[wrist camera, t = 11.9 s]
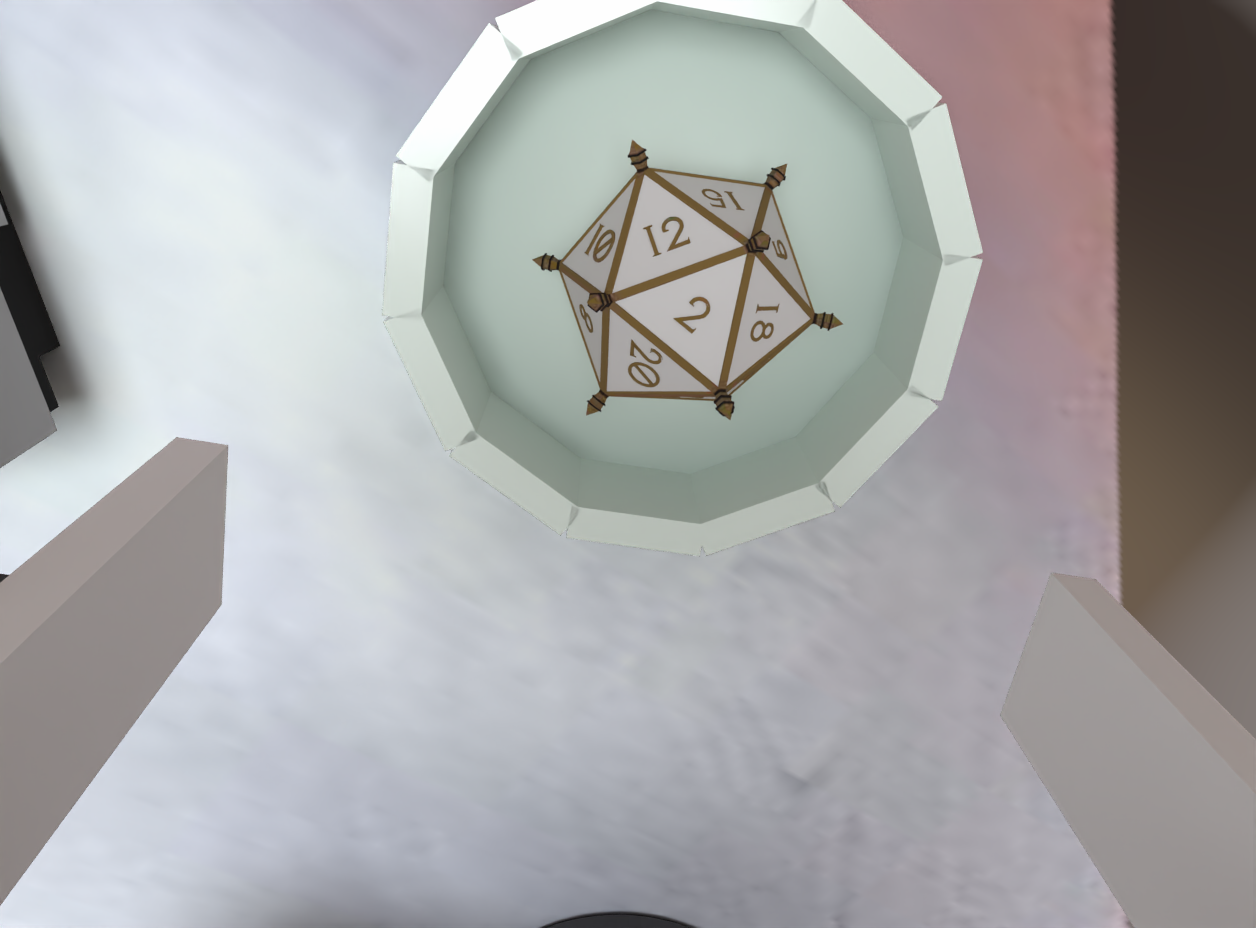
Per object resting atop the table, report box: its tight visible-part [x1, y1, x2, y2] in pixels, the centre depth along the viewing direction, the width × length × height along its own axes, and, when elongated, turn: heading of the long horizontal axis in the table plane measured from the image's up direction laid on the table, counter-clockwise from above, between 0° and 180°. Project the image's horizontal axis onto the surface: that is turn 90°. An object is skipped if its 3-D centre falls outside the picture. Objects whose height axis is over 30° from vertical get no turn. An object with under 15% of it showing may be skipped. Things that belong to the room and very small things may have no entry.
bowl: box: [382, 0, 983, 557], centre depth 34 cm, size 18×18×6 cm
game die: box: [532, 140, 843, 420], centre depth 32 cm, size 9×8×10 cm
